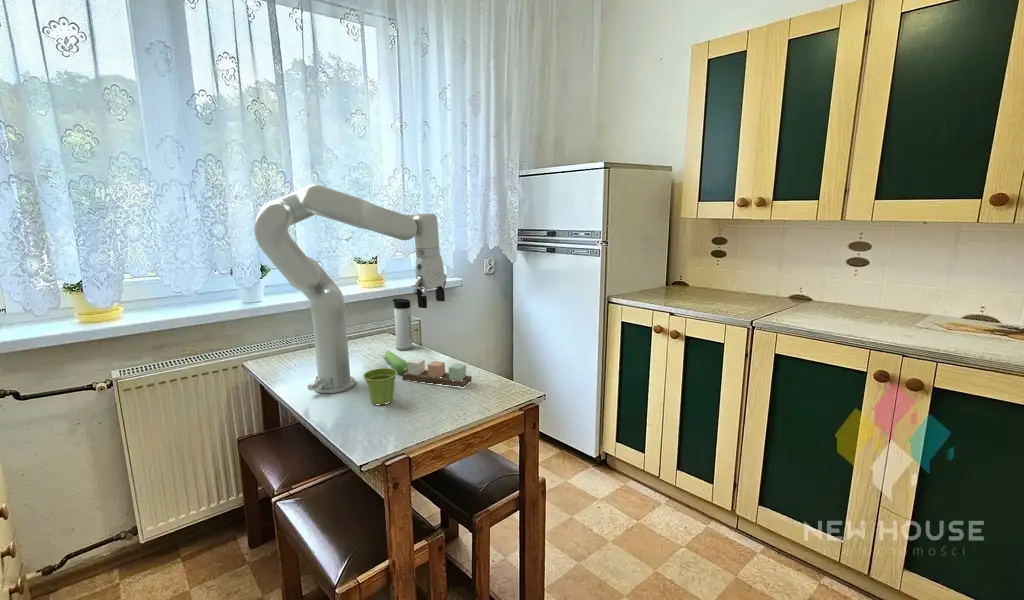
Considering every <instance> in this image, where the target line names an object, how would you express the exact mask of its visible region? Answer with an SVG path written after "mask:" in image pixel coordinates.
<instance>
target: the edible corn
mask: <svg viewBox="0 0 1024 600" xmlns="http://www.w3.org/2000/svg"><path fill="white" fill-rule="evenodd" d="M382 358H383V360H384V361H386V362H387V364H389V366H391V369H394V370H396V371H397V374H398V375H399V376H402V374H404V373H405V372H407V371H408V364H407V362H408V361H406V360H405V359H403V358H402V357H400V356H398V355H397V354H395V353H394V352H392V351H390V350H386V352H385V353H384V356H382Z"/></svg>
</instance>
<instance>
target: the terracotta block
mask: <svg viewBox="0 0 1024 600" xmlns="http://www.w3.org/2000/svg"><path fill="white" fill-rule="evenodd" d="M427 370H428V377H434V378H438V379H440V377H442V376H443V375H444V374H445V373H446V362H445V361H439V360H438V361H437V360H433V361H431V362H430V363H428V364H427Z"/></svg>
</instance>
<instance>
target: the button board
mask: <svg viewBox="0 0 1024 600" xmlns="http://www.w3.org/2000/svg"><path fill="white" fill-rule="evenodd" d="M401 376H402V381H405V380H410V381H409V382H412V381H417V382H416V383H419V382H425V383H424V384H426V383H433V384H442V385H449V386H450V385H451V386H460V387H464V386H466V385H467V384H468V383H469V382H471V381H472V375H466V377H465V378H464V379H463V381H455V380H454V381H452V380H449V372H445V374H444V375H443V376H442V378H433V377H428V369H425V371H424V372H423V373H421V374H420V376H419V375H413V374H408V371H407V372H405V373H404V374H401ZM472 382H473V381H472ZM472 382H471V383H472ZM433 384H432V385H433Z"/></svg>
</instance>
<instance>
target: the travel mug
mask: <svg viewBox="0 0 1024 600" xmlns="http://www.w3.org/2000/svg"><path fill="white" fill-rule="evenodd" d="M392 302H393V307H394V308H393V311H394V314H393V315H394V329H395V330H394V331H395V345H396V347H395V348H396V350H397V351H401V352H406V351H410V350H412V349H413V348H414V347H413V346H414V345H413V326H412V325H413V324H412V308H411V300H410V299H405V298H393V299H392Z"/></svg>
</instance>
